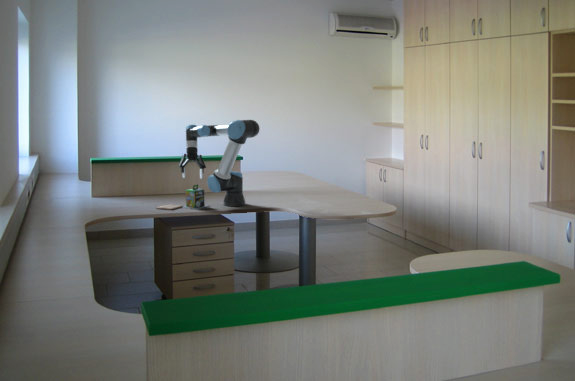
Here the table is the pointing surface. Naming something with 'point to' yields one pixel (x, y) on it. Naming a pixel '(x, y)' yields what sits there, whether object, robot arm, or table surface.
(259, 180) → the table surface
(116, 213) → the table surface
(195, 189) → the chalk box
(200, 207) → the plate
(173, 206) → the walnut board
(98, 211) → the table surface
